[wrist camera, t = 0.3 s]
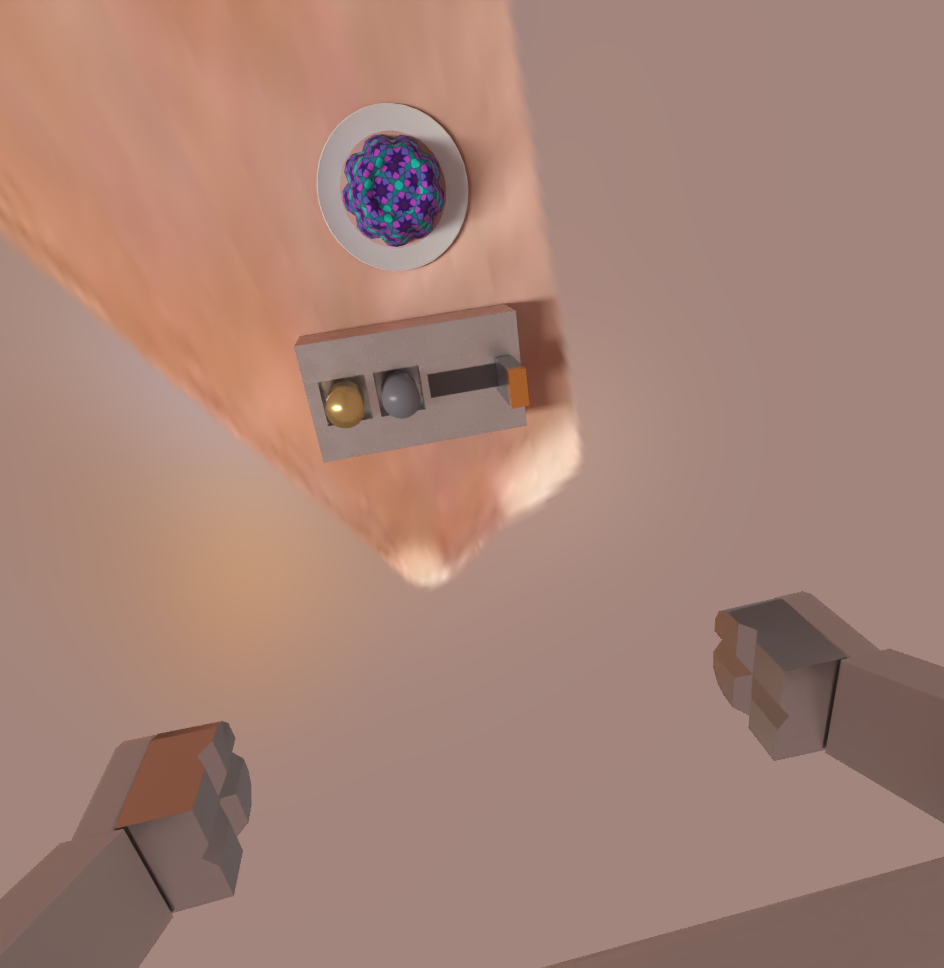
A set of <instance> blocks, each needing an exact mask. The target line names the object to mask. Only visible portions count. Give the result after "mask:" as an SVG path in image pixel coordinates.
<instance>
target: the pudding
mask: <svg viewBox="0 0 944 968" xmlns="http://www.w3.org/2000/svg"><path fill="white" fill-rule="evenodd" d="M380 131H399V132H403V133H406V134H409V135H411V136H413V137H415V138H417V139H418V140H420V141H421V142H422V143H423V144H425V145H426V146H427V147H428V148H429V149H430V151H431V152H432V153H433V154H434V156H435V157H436V159H437V161H438V162H439V164H440V167H441V169H442V172H443V175H444V179H445V185H446V201H445V206H444V211H443V213H442V216H441V218H440V221H439V222H438V224H437V226H436V227H435V229H434V230H433V231H432V232H431V233H430V234H429V235H428V236H427V237H426V238H424V239H423V240H422V241H420V242H418V243H416V244H414V245H411V246H408V247H402V248H390V247H385V246H381V245H378V244H376V243H374V242H372V241H370V240H369V239H367V238H366V237H364V236H363V235H362V234H361V233H360V232H359V231H358V230H357V229H356V228H355V227H354V226H353V224H352V223H351V221H350V220H349V218H348V216H347V214H346V212H345V210H344V207H343V204H342V200H341V193H340V178H341V172H342V168H343V165H344V162H345V160H346V158H347V156H348V155H349V153H350V151H351V150H352V149H353V148H354V147H355V145H356V144H357V143H359V142H360V141H361V140H362V139H364V138H365V137H367V136H369V135H371V134H374V133H377V132H380ZM344 172H345V175H346V178H347V180H348V184H347V185H346V187H345V188H344V190H343V202H344V204H345V206H346V209H347V210H348V211H349V212H351V213H352V214H354V215H355V216H356V220H357V227H358V228H359V230H360V231H361V232H362V233H363V234H364V235H365V236H367V237H369V238H371V239H373V238H380V237H381V238H382V239H383V240H384V241H385V242H386V243H387V245H390V246H395V247H398V246H402V245H405V244H406V243H407V242H408V240H409V239H410V238H411V237H412V238H419V239H421V238H422V237H424V236H426V235H427V234H428V233H429V232H430V230H431V229H432V228H433V216H435V215H436V214H437V213H439V212H440V211H441V210H442V207H443V204H444V192H443V190H442V189H441V187H440V186H439V185H438V180H439V177H440V170H439V167H438V163H437V162H436V161H435V160H434V158H433V157H432V156H431V155H427V154H424V153H421V150H420V148H419V145H418V143H417V142H416V141H415V140H413V139H412V138H411V137H409V136H404V135H399V136H397V137H396V138H394V139H392V140H391V139H389V138H387V137H386V136H384V135H375V136H372V137H370V138H369V139H368V140H366V141H365V144H364V147H363V150H362V152H359V153H355V154H352V155H351V156H350V158H349V159H348V160H347V162H346V166H345V171H344ZM468 193H469V192H468V179H467V174H466V170H465V165H464V162H463V160H462V157H461V155H460V152H459V150H458V148H457V146H456V145H455V143H454V142H453V140H452V138H451V137H450V136H449V134H448V133H447V132H446V131H445V130H444V128H443V127H442V126H441V125H440V124H438V123H437V122H436V121H435V120H434V119H432V118H431V117H430V116H428V115H427V114H425V113H423V112H421V111H419V110H418V109H415V108H412V107H409V106H406V105H402V104H395V103H381V104H374V105H370V106H367V107H363V108H361V109H359V110H357V111H355V112H354V113H352V114H350V115H349V116H348V117H346V118H345V119H344V120H343V121H341V122H340V123H339V124H338V126H337V127H336V128H335V129H334V130H333V132H332V133H331V134H330V136H329V138H328V140H327V141H326V143H325V145H324V147H323V150H322V153H321V156H320V159H319V163H318V170H317V194H318V200H319V206H320V209H321V211H322V214H323V217H324V220H325V222H326V224H327V226H328V228H329V229H330V231H331V233H332V234H333V236H334V237H335V238H336V240H337V241H338V242H339V244H340V245H341V246H342V247H343V248H344V249H345V250H346V251H347V252H349V253H350V254H351V255H352V256H354V257H355V258H357V259H358V260H360V261H361V262H363V263H365V264H368V265H370V266H372V267H375V268H379V269H382V270H388V271H405V270H412V269H415V268H419V267H422V266H424V265H426V264H428V263H430V262H432V261H434V260H435V259H436V258H438V257H439V256H440V255H441V254H443V253H444V252H445V251H446V250H447V248H448V247H449V246H450V245H451V244H452V243H453V241H454V239H455V238H456V236H457V235H458V233H459V231H460V229H461V226H462V224H463V222H464V219H465V214H466V210H467V206H468Z"/></svg>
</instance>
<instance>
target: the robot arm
mask: <svg viewBox="0 0 944 968" xmlns="http://www.w3.org/2000/svg"><path fill="white" fill-rule="evenodd" d="M715 632H716V633H717V634H718V635H719V637H720V638H721V639H722V641H721V642H720V643H719V645H718V646H717V648H716V649H715V650H714V652H713V653H714V654H713V661H714V662H713V668H714V672H715V675H716V679H717V682H718V685H719V687H720V689H721V691H722V693H723V695H724V696H725V698H726V699H727V700H728V702H729V703H730V704H731V706H732V707H733V708H735V709H737V710H740V711H742V712H743V713H746V714H748V715H749V729H750V730H751V732H752V733H753V734H754V736H755V737H756V738H757V739H758V741H759V742H760V743H761V745H762V746H763V747H764V749H765V750H766V751H767V752H768V754H769V755H770V756H771V758H772V759H773V760H774V761H776V760H781V759H785V758H789V757H794V756H799V755H804V754H808V753H813V752H817V751H822V750H826V753H827V754H829V755H830V756H832V757H834V758H835V759H837V760H839V761H840V762H842V763H844V764H845V765H847V766H849V767H850V768H852V769H854V770H855V771H857V772H859V773H860V774H862V775H864V776H866V777H867V778H869V779H871V780H873V781H874V782H875V783H877V784H879V785H881V786H882V787H884V788H886V789H887V790H889V791H891V792H892V793H894V794H896V795H897V796H899V797H901V798H902V799H904V800H906V801H907V802H909V803H911V804H912V805H914V806H916V807H917V808H919V809H921V810H923V811H924V812H926V813H928V814H929V815H931V816H933V817H934V818H936V819H938V820H939V821H941V822H943V823H944V667H942V666H939V665H936V664H933V663H930V662H927V661H924V660H921V659H918V658H915V657H912V656H909V655H907V654H904V653H900V652H898V651H894V650H892V649H887V650H882V651H880V650H879V649H878V648H877V647H876V646H874V645H873V644H872V643H871V642H869V641H868V640H867V639H866V638H865V637H863V636H862V635H861V634H860V633H858V632H857V631H856V630H855V629H854V628H852V627H851V626H850V625H849V624H847V623H846V622H845V621H844V620H842V619H841V618H840V617H839V616H838V615H836V614H835V613H834V612H833V611H831V610H830V609H829V608H828V607H827V606H825V605H824V604H823V603H822V602H820V601H819V600H818V599H817V598H816V597H814V596H813V595H812V594H810V593H806V592H803V591H802V592H798V593H793V594H789V595H785V596H781V597H777V598H775V599H771V600H766V601H761V602H758V603H753V604H748V605H744V606H740V607H735V608H731V609H727V610H723V611H719V612H718V614H717V617H716V619H715ZM234 741H235V736H234V734H233V732H232V730H231V728H230V726H229V724H228V723H226V722H223V721H220V722H215V723H210V724H205V725H201V726H195V727H190V728H185V729H180V730H175V731H170V732H165V733H160V734H157V735H153V736H148V737H143V738H138V739H133V740H128V741H124V742H123V743H121V744H120V745H119V746H118V747H117V748H116V749H115V751H114V753H113V755H112V757H111V759H110V761H109V763H108V765H107V767H106V769H105V771H104V773H103V776H102V778H101V780H100V782H99V784H98V786H97V788H96V790H95V792H94V794H93V797H92V799H91V800H90V803H89V805H88V807H87V809H86V811H85V813H84V815H83V817H82V819H81V821H80V823H79V826H78V827H77V830H76V832H75V834H74V836H73V838H72V840H71V841H68V842H65V843H61V844H59V845H58V846H57V847H56V848H55V849H54V850H52V852H50V853H49V854H48V855H47V856H46V857H45V858H44V859H43V860H42V861H41V862H40V863H38V864H37V865H36V867H34V868H33V869H32V870H31V871H30V872H29V873H28V874H27V875H26V876H24V877H23V878H22V879H21V880H20V881H19V882H18V883H17V884H16V885H15V886H14V887H13V888H12V889H10V890H9V891H8V892H7V893H6V894H5V895H4V896H3V897H2V898H1V899H0V968H138V967H139V966H140V964H141V963H142V962H143V960H144V958H145V957H146V956H147V954H148V953H149V951H150V950H151V948H152V947H153V946H154V944H155V943H156V941H157V939H158V938H159V937H160V935H161V934H162V932H163V931H164V930H165V928H166V927H167V925H168V924H169V922H170V921H171V919H172V918H173V915H172V913H174V912H178V911H182V910H185V909H188V908H192V907H196V906H199V905H203V904H207V903H210V902H214V901H217V900H221V899H224V898H228V897H232V896H234V892H235V887H236V882H237V878H238V873H239V868H240V862H241V858H242V852H243V850H242V848H241V845H240V843H239V841H238V839H237V836H238V835H239V834H240V832H241V831H242V830H243V829H244V827H245V826H246V825H247V824H248V821H249V816H250V810H251V781H250V776H249V771H248V768H247V766H246V763H245V761H244V759H243V758H242V757H240V756H238V755H236V754H234V753H233V752H232V750H233V746H234ZM543 968H944V857H942V858H938V859H934V860H931V861H927V862H923V863H920V864H916V865H912V866H909V867H906V868H902V869H898V870H894V871H891V872H887V873H884V874H880V875H877V876H872V877H869V878H865V879H862V880H858V881H854V882H851V883H847V884H844V885H840V886H836V887H833V888H829V889H825V890H822V891H818V892H815V893H811V894H807V895H804V896H800V897H797V898H793V899H789V900H786V901H782V902H778V903H775V904H771V905H768V906H764V907H760V908H756V909H753V910H750V911H746V912H742V913H739V914H735V915H731V916H728V917H724V918H720V919H717V920H713V921H709V922H706V923H702V924H699V925H695V926H692V927H688V928H684V929H680V930H677V931H674V932H670V933H666V934H662V935H658V936H655V937H651V938H648V939H644V940H640V941H637V942H633V943H630V944H626V945H622V946H619V947H615V948H612V949H608V950H604V951H600V952H597V953H594V954H590V955H586V956H582V957H579V958H575V959H572V960H568V961H564V962H561V963H557V964H554V965H550V966H546V967H543Z"/></svg>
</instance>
